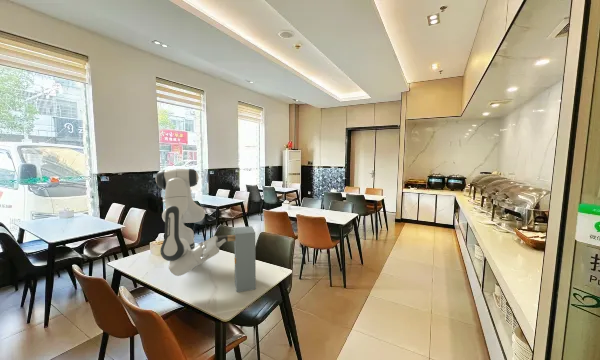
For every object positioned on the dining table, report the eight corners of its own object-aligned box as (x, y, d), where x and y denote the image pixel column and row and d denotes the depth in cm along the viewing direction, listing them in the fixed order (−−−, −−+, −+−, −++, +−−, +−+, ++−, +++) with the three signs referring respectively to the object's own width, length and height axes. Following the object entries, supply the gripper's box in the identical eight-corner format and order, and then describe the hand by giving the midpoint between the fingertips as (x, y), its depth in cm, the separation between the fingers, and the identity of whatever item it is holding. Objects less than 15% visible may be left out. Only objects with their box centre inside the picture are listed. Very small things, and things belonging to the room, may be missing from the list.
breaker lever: (217, 240, 131) (217, 235, 131) (247, 238, 136) (247, 233, 136) (217, 242, 128) (217, 237, 128) (248, 239, 133) (248, 234, 133)
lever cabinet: (233, 280, 140) (233, 227, 138) (252, 278, 144) (251, 226, 141) (235, 292, 128) (234, 234, 126) (255, 289, 131) (255, 232, 129)
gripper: (196, 255, 117) (222, 239, 120) (199, 242, 136) (221, 228, 140) (204, 265, 118) (229, 249, 122) (205, 251, 138) (227, 237, 141)
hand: (225, 238), depth 131 cm, fingers open, 3 cm apart
